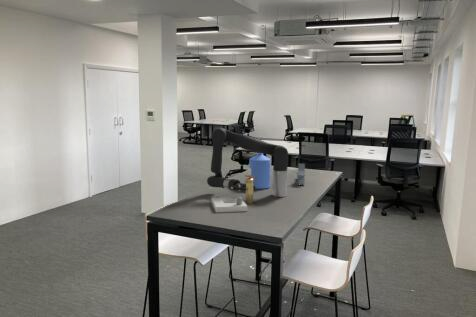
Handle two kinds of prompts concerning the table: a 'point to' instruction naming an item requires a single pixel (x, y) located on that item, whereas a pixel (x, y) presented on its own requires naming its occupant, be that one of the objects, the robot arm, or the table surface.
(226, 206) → the plate
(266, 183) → the water jug
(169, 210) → the table surface
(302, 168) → the faucet
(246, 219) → the table surface
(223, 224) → the table surface
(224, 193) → the table surface
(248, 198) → the valve
